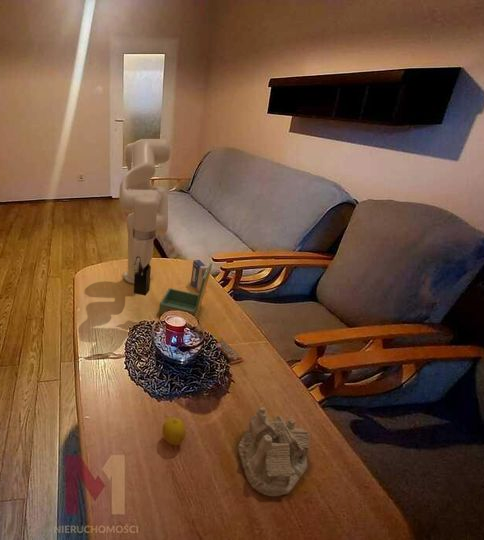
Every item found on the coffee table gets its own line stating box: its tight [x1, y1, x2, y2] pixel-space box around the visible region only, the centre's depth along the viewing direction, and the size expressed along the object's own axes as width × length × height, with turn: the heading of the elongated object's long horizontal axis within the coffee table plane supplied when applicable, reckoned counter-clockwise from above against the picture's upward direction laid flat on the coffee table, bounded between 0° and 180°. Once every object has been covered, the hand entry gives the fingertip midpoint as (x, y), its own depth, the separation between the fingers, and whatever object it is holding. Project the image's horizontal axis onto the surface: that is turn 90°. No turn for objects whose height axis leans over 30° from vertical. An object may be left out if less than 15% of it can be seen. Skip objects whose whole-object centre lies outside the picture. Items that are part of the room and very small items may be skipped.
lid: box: [195, 262, 213, 311], centre depth 128 cm, size 14×13×1 cm
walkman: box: [190, 259, 208, 292], centre depth 150 cm, size 8×3×12 cm, turn 11°
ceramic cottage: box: [237, 406, 311, 497], centre depth 79 cm, size 16×16×15 cm
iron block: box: [133, 264, 152, 296], centre depth 125 cm, size 4×4×10 cm
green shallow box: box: [158, 287, 203, 319], centre depth 136 cm, size 14×13×6 cm
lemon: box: [162, 416, 186, 446], centre depth 86 cm, size 6×6×8 cm
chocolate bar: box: [215, 341, 244, 365], centre depth 116 cm, size 11×5×1 cm, turn 20°
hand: (142, 279), depth 125 cm, fingers closed on iron block, 4 cm apart
